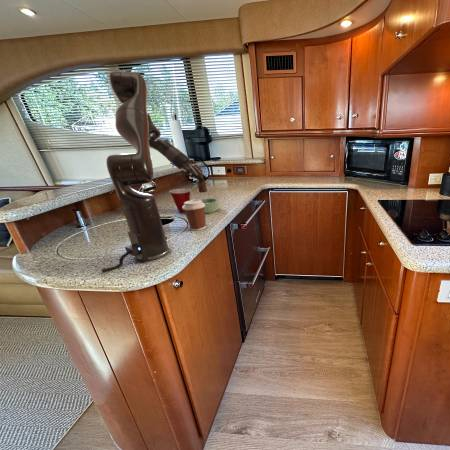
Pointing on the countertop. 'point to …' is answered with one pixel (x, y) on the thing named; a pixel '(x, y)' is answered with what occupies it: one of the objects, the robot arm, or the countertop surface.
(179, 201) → the plastic cup
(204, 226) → the coffee cup
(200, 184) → the muddler
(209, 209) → the bowl
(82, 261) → the countertop surface
